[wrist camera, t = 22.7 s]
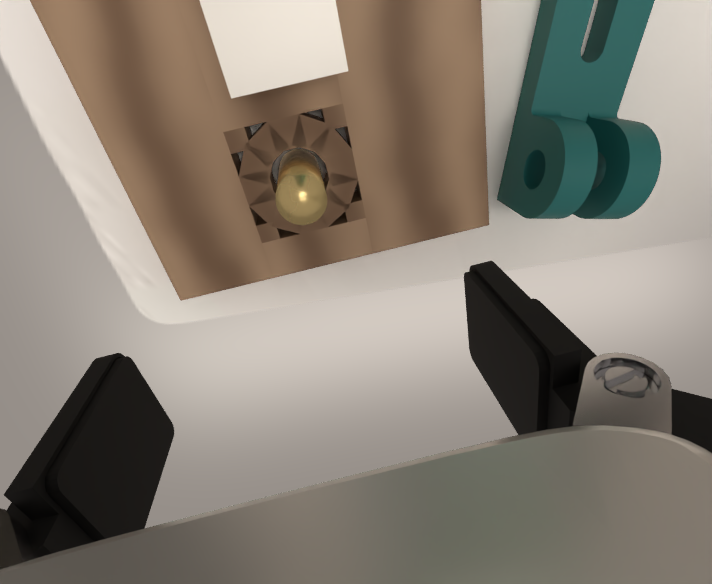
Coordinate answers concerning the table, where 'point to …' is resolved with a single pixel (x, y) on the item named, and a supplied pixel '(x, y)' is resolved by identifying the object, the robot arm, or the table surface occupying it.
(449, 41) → the walnut board
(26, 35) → the table surface
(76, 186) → the table surface
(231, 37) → the cream cube
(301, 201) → the brass pin
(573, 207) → the bracket
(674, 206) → the table surface
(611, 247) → the table surface
